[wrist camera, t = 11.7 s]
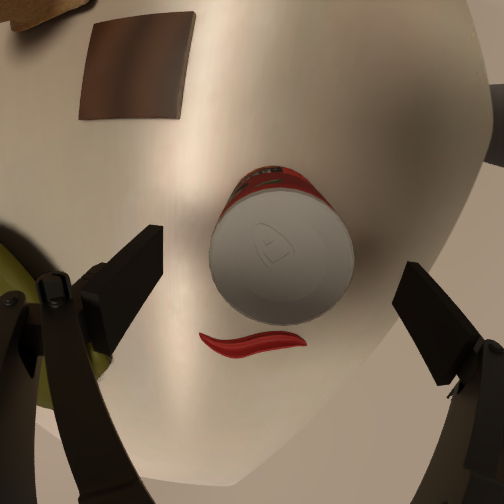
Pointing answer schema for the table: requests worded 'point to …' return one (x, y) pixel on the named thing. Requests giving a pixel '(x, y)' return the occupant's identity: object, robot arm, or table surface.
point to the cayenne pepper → (253, 343)
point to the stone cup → (34, 11)
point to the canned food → (280, 249)
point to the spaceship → (17, 278)
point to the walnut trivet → (137, 67)
